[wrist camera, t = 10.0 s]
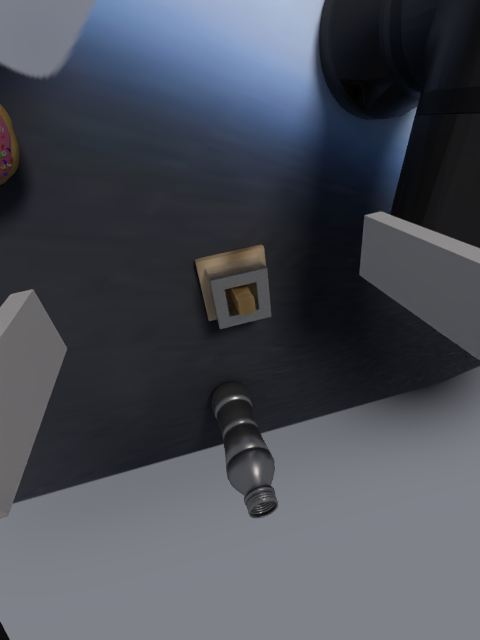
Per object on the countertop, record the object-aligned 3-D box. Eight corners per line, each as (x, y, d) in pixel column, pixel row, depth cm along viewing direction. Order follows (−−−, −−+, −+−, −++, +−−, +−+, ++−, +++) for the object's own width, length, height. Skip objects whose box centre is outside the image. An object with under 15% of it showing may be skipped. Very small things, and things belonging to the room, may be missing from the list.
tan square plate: (261, 244, 41) (280, 264, 35) (267, 302, 46) (284, 328, 40) (194, 259, 40) (202, 282, 34) (207, 317, 45) (217, 346, 39)
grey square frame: (257, 256, 41) (267, 268, 37) (262, 302, 45) (271, 316, 41) (205, 267, 40) (210, 280, 36) (214, 313, 44) (219, 329, 40)
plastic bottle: (253, 387, 55) (300, 500, 38) (225, 410, 56) (258, 529, 39) (230, 370, 51) (269, 486, 35) (200, 394, 52) (225, 518, 36)
